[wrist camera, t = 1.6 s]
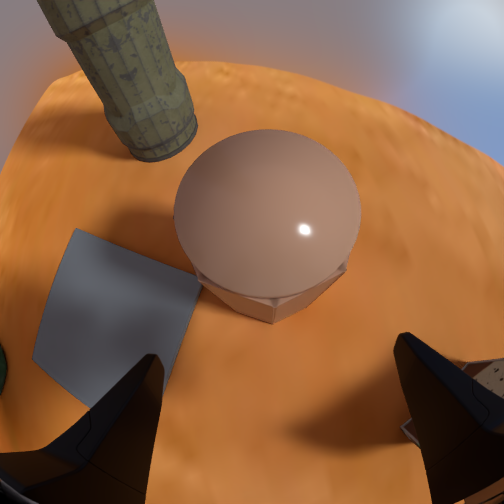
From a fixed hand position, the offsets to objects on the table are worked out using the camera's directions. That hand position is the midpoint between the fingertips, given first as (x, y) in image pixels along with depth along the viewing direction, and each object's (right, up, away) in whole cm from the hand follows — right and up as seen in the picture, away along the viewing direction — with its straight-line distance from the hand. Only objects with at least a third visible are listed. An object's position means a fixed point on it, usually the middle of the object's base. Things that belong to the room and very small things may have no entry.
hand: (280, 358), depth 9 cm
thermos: (-12, +17, +20) cm, 29 cm away
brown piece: (0, +2, +13) cm, 14 cm away
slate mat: (-15, -4, +13) cm, 20 cm away
